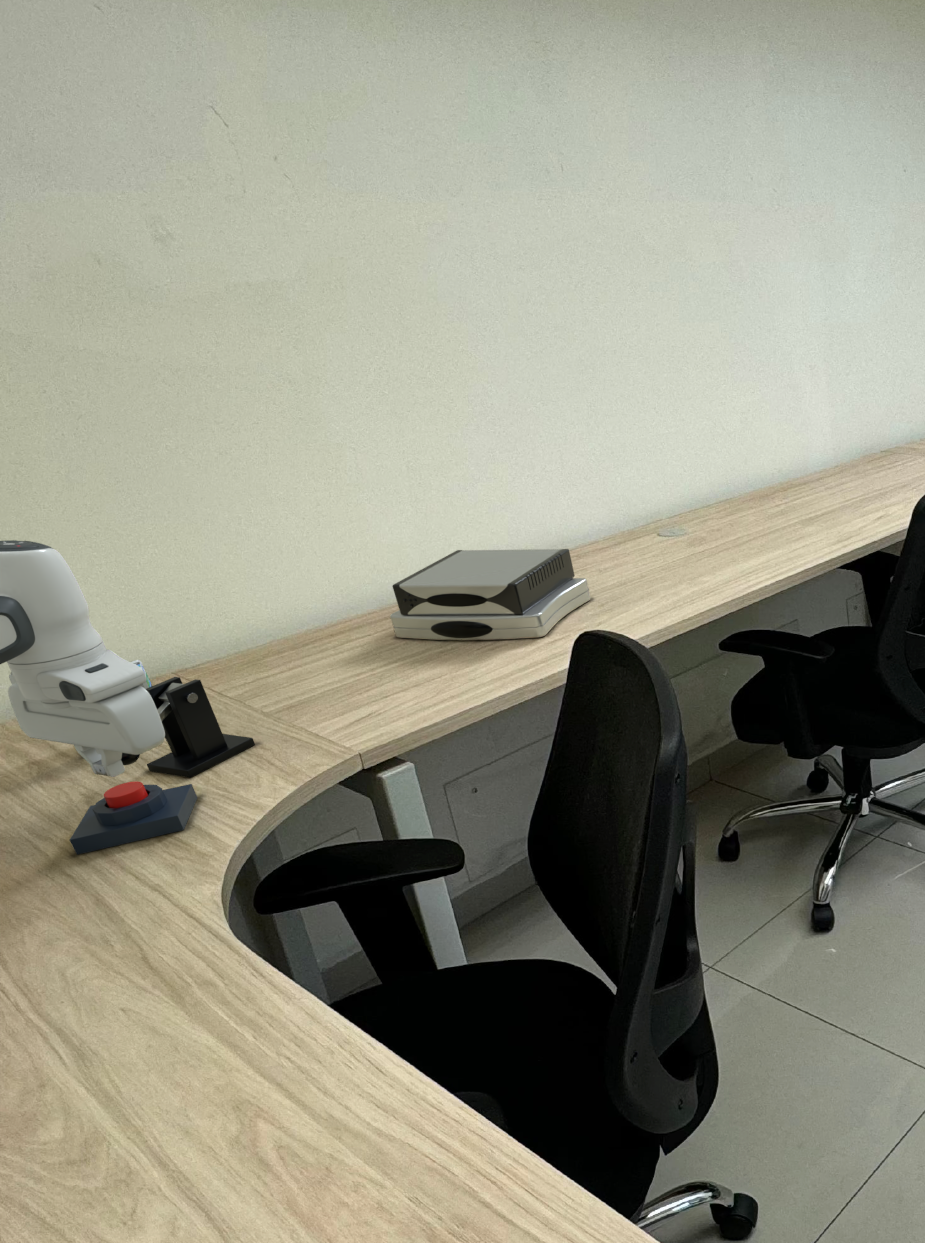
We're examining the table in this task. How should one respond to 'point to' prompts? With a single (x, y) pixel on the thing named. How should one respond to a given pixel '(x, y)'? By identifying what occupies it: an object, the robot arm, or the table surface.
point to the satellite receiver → (488, 595)
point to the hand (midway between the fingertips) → (110, 773)
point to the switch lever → (163, 712)
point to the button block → (134, 819)
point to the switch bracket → (192, 731)
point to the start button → (125, 794)
